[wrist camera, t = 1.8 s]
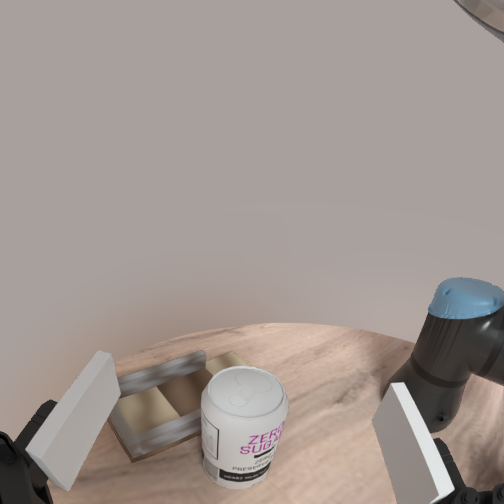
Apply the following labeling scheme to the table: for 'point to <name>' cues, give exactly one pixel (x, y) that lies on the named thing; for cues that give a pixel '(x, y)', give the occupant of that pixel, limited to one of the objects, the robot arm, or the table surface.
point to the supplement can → (241, 425)
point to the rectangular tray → (164, 403)
